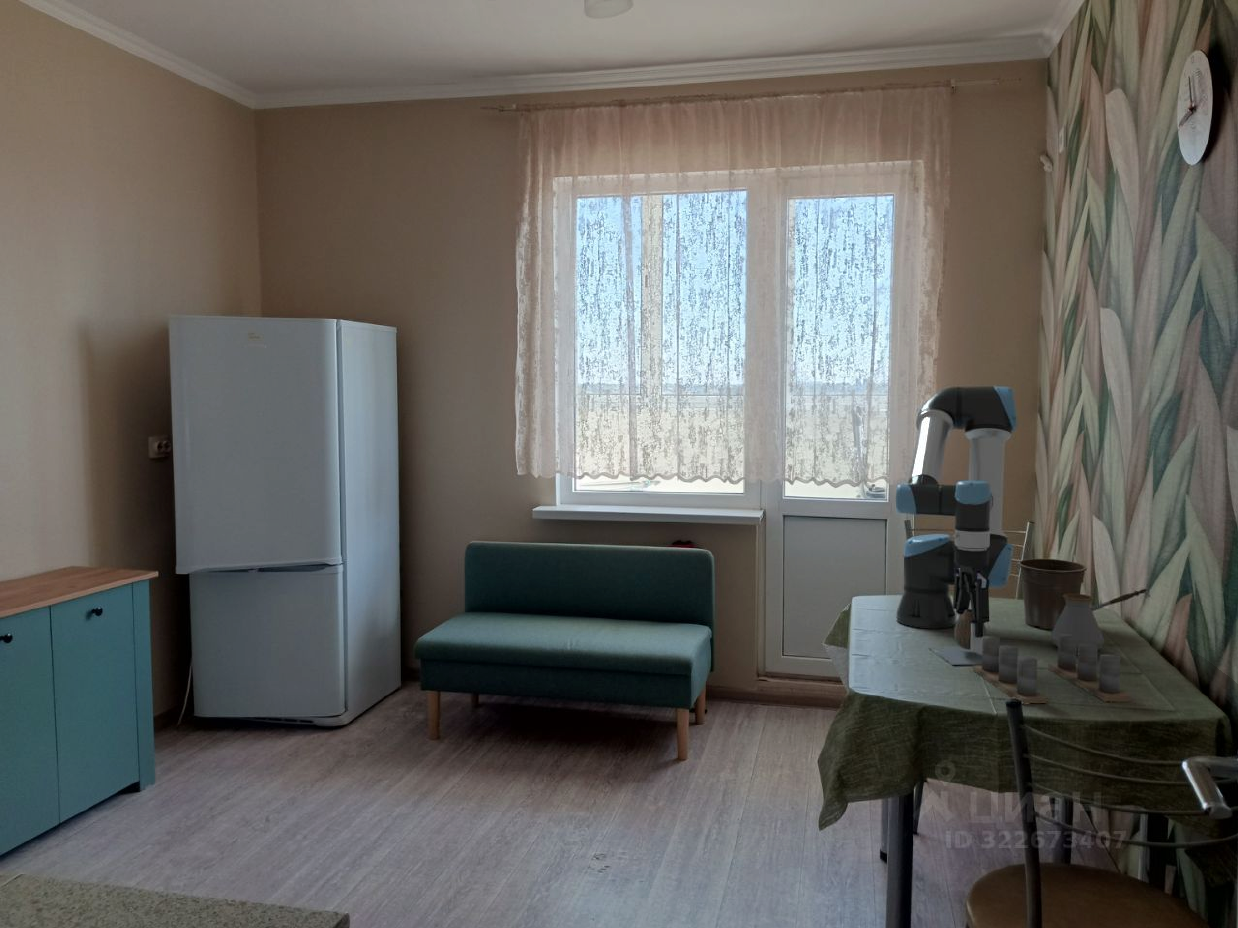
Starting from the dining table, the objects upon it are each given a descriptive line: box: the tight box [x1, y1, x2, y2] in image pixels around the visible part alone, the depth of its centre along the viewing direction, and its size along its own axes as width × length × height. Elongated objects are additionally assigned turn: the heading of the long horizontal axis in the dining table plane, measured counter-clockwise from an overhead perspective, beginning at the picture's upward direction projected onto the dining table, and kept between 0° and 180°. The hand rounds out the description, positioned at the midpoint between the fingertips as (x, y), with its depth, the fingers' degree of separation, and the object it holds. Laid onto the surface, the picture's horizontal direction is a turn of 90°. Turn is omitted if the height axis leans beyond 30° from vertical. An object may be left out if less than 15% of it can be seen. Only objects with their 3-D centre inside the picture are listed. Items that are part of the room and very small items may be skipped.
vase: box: [953, 608, 987, 650], centre depth 215 cm, size 7×7×9 cm
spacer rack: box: [972, 634, 1131, 705], centre depth 194 cm, size 22×22×8 cm
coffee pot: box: [1049, 588, 1151, 653], centre depth 219 cm, size 21×12×15 cm, turn 81°
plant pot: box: [1018, 558, 1088, 631], centre depth 243 cm, size 16×16×16 cm
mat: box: [928, 645, 982, 666], centre depth 216 cm, size 14×14×1 cm
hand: (969, 645), depth 216 cm, fingers closed on vase, 7 cm apart
